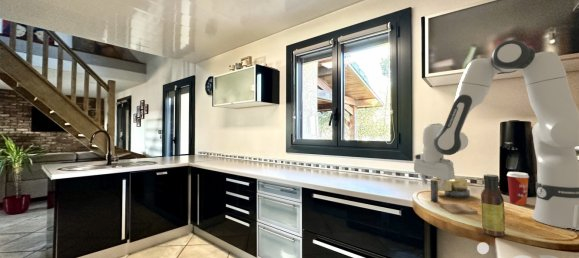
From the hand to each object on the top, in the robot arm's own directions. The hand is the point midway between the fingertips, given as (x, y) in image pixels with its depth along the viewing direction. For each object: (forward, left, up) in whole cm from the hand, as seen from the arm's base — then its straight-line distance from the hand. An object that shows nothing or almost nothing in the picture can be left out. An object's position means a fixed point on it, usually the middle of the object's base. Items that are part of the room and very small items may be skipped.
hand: (432, 185), depth 122 cm
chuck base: (-17, -10, -8) cm, 21 cm away
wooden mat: (-5, +12, -8) cm, 15 cm away
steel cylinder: (-1, 0, -8) cm, 8 cm away
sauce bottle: (-3, +36, -8) cm, 37 cm away
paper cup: (-36, +4, -8) cm, 37 cm away
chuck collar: (-13, -10, -4) cm, 17 cm away
